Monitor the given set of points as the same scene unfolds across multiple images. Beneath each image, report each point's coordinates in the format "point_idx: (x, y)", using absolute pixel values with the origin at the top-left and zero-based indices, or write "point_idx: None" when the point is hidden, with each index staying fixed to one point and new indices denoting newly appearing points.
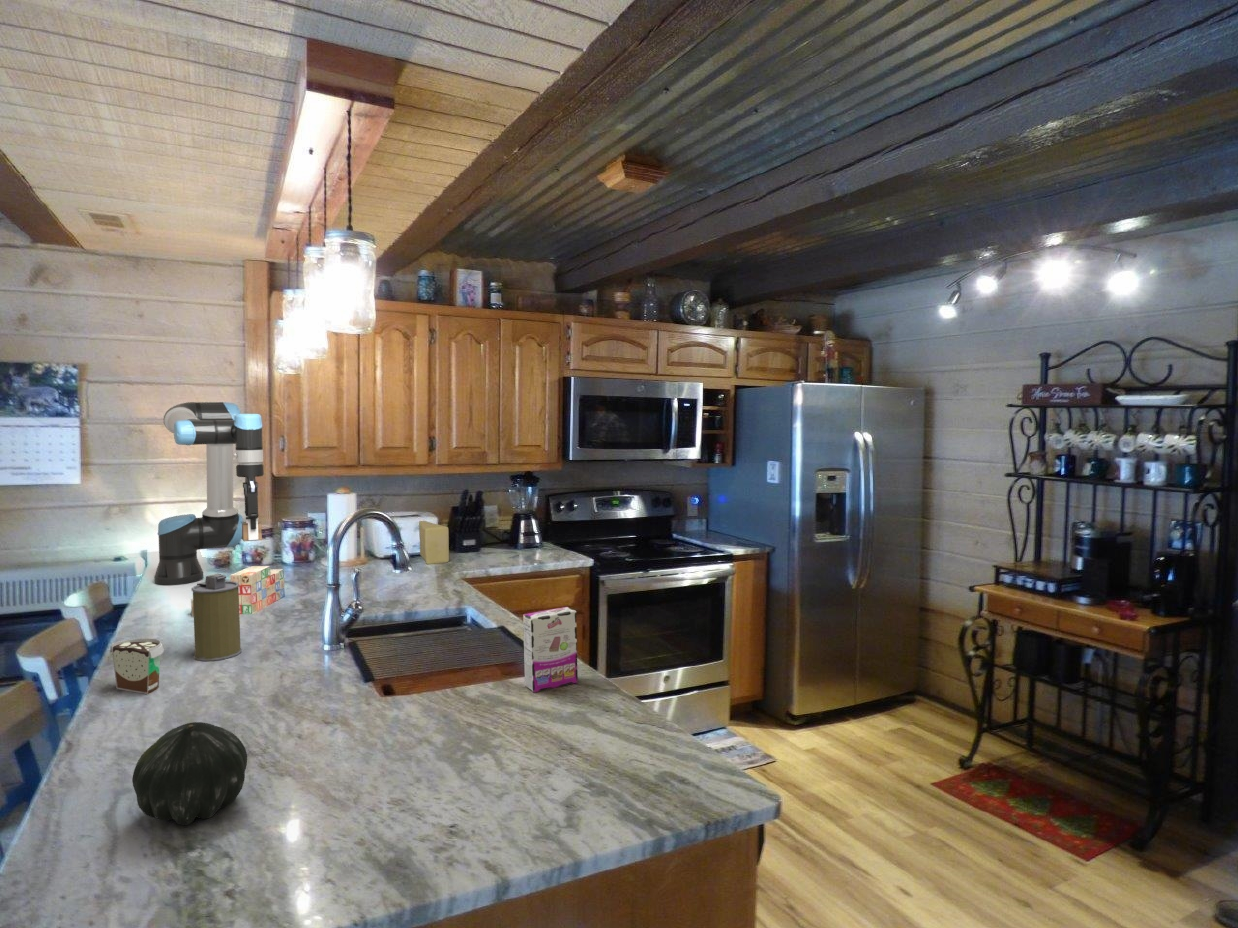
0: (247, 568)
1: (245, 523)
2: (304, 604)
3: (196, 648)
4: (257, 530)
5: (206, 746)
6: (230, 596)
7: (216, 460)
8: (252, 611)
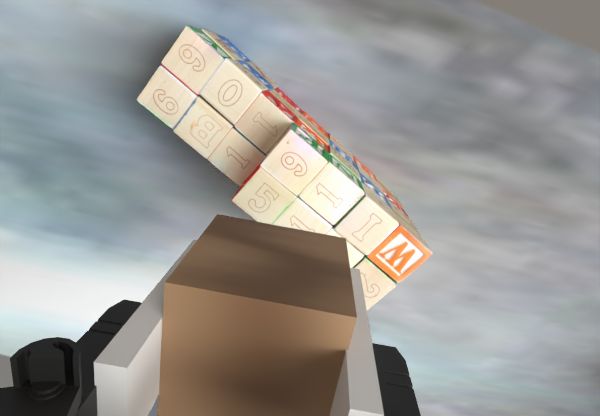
0: None
1: (201, 410)
2: (401, 16)
3: None
4: (365, 318)
5: None
6: None
7: None
8: (396, 198)
